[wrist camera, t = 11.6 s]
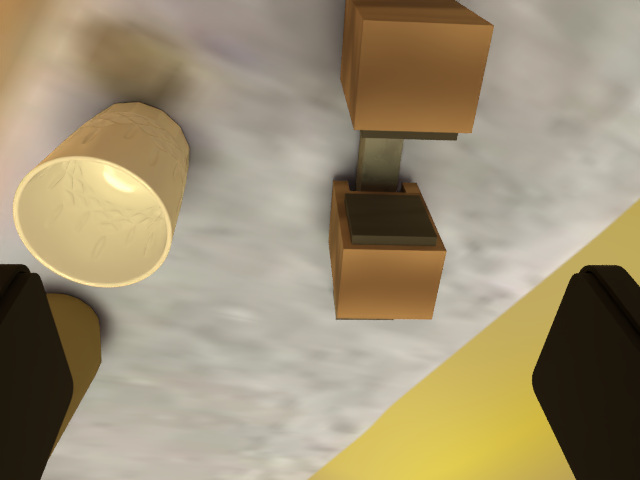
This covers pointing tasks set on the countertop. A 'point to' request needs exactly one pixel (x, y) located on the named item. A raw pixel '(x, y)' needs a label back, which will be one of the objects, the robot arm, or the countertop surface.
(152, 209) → the white cup
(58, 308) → the squeeze bottle
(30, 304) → the robot arm
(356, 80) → the wooden block
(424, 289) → the brown capped cube
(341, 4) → the countertop surface
